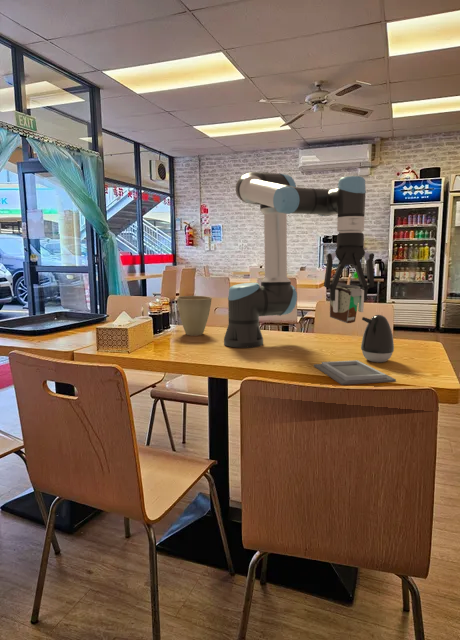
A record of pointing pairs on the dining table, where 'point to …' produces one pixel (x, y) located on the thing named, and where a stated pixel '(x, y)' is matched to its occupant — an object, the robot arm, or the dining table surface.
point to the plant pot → (194, 313)
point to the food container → (346, 303)
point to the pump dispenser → (377, 339)
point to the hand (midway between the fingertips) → (348, 311)
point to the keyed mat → (352, 372)
